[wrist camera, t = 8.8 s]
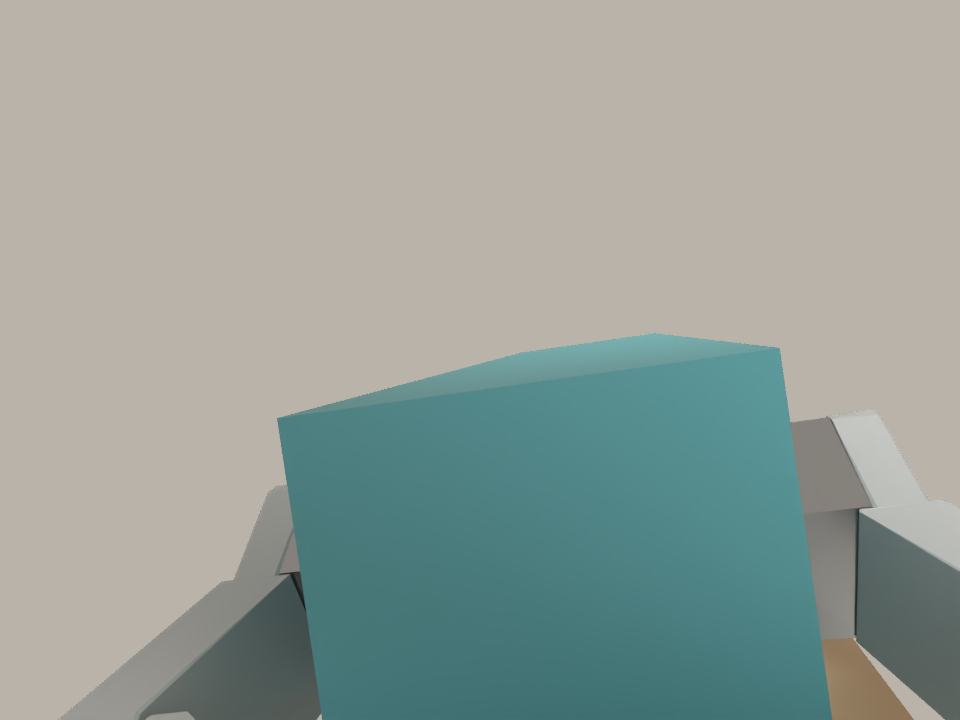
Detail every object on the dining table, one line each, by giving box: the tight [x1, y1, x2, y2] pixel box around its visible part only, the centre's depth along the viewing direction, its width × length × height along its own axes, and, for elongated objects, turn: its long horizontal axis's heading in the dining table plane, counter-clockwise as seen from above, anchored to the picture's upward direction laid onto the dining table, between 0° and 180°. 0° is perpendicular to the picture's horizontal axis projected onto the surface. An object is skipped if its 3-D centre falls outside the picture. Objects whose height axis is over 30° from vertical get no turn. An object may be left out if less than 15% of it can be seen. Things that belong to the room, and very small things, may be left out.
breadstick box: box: [277, 333, 832, 720], centre depth 17 cm, size 4×20×4 cm, turn 172°
